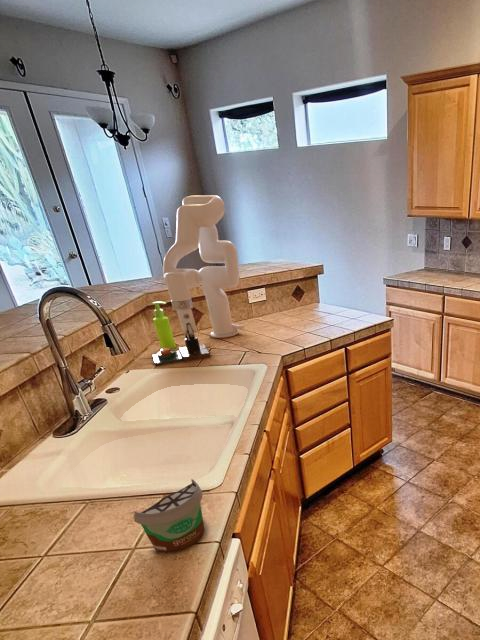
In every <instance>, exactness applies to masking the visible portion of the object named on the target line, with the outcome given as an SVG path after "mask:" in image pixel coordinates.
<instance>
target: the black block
mask: <svg viewBox="0 0 480 640" xmlns="http://www.w3.org/2000/svg"><path fill="white" fill-rule="evenodd" d="M195 338H196V340H197V344H198V349H194V350H190V347H189V343H188V339H187V338H186V337H185V338H184V345H185V347H186V348H187V351H188V352H190V351H196V350H200V346H199V345H200V342H199V338H198V337H197V336H195Z"/></svg>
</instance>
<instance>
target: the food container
mask: <svg viewBox="0 0 480 640" xmlns="http://www.w3.org/2000/svg"><path fill="white" fill-rule="evenodd" d="M190 481H191V483H190V484H188V485H187V486H185V487H183V488H181V489H180V490H177V491H174V492H173V493H170V494H168V495H165V496H164V497H163V498H162V499H160V500H158V501H157V502H155V503H154V504H152V505H151V506H150V507H148V508H146V509H145V510H142V511H141V512H138V511H136V510H133V512H134V514H133V521H134V523H136V524H138V525H140V526H141V527H142V529H143V530H144V533H145V534H146V536H147V538H148V540H149V542H150V543H151V545H152V546H153V549H154V550H155V551H156V552H158V553H163V554H173V553H178V552H181V551H184V550H187V549H189V548H191V547H193V546H194V545H195V544H197V543H198V542H199V541H200V540H201V539H202V538H203V536H204V534H205V523H204V517H203V511H202V506H201V505H202V504H201V503H202V500H203V496H204V495H203V490H202V488H201V487H200V485H199V483H198V482H196V481H195V480H194V479H193V478H191V480H190Z"/></svg>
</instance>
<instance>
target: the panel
mask: <svg viewBox="0 0 480 640" xmlns="http://www.w3.org/2000/svg"><path fill="white" fill-rule="evenodd" d="M199 346H200V350H196V351H190V352H188V351H187V348H186V346H183V347H179V348H178V351H179V353H180V355H181V357H182V360H183V362H191V361H196V360H202V359H207V358H208V359H209V358H211V354H210V352H209V350H208V348H207V347H206V345H205V344H199Z"/></svg>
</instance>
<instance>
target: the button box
mask: <svg viewBox="0 0 480 640" xmlns="http://www.w3.org/2000/svg"><path fill="white" fill-rule="evenodd" d="M170 351H171V353H168V354H161V351H158V352H157V353H156V354H152V358H153V363H154V365H155V366H156V367H159V366H163V365H167V364H175V363H181V362H184V360H183V357H182V355H181V353H180V350H173V349H170Z"/></svg>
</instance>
